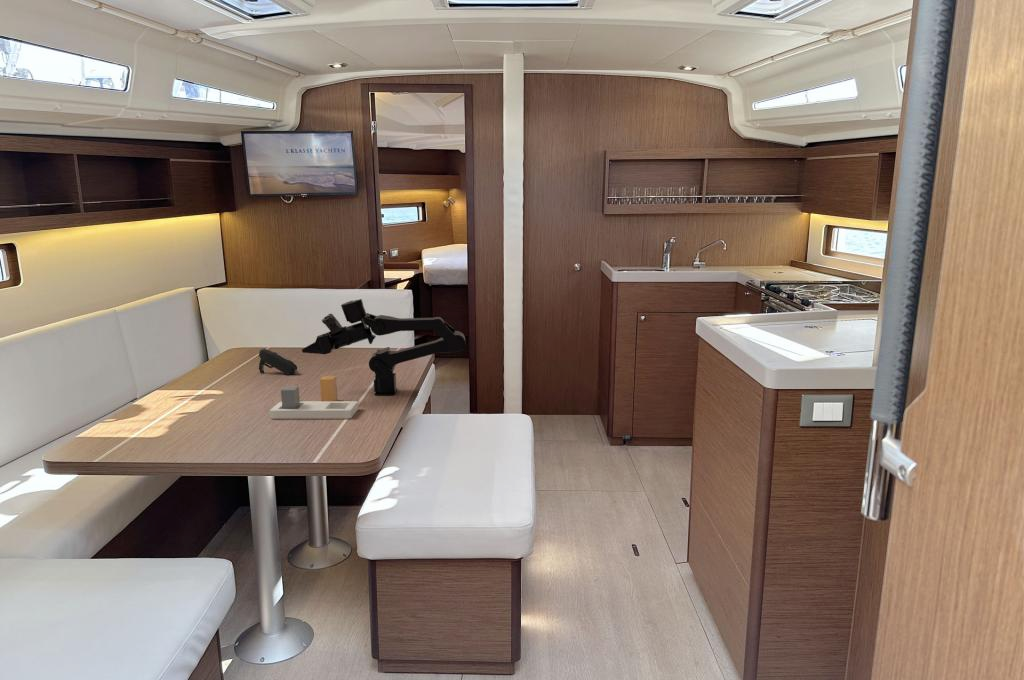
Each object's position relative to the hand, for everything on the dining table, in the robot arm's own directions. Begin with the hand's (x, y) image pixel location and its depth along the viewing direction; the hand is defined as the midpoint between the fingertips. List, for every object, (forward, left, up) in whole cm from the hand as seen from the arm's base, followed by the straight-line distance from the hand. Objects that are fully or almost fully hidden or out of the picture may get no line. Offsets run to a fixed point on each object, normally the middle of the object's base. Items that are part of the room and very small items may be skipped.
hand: (306, 349), depth 223 cm
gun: (+20, -28, -16) cm, 38 cm away
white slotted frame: (-8, +19, -15) cm, 26 cm away
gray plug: (-1, +19, -15) cm, 25 cm away
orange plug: (-9, +7, -16) cm, 19 cm away
